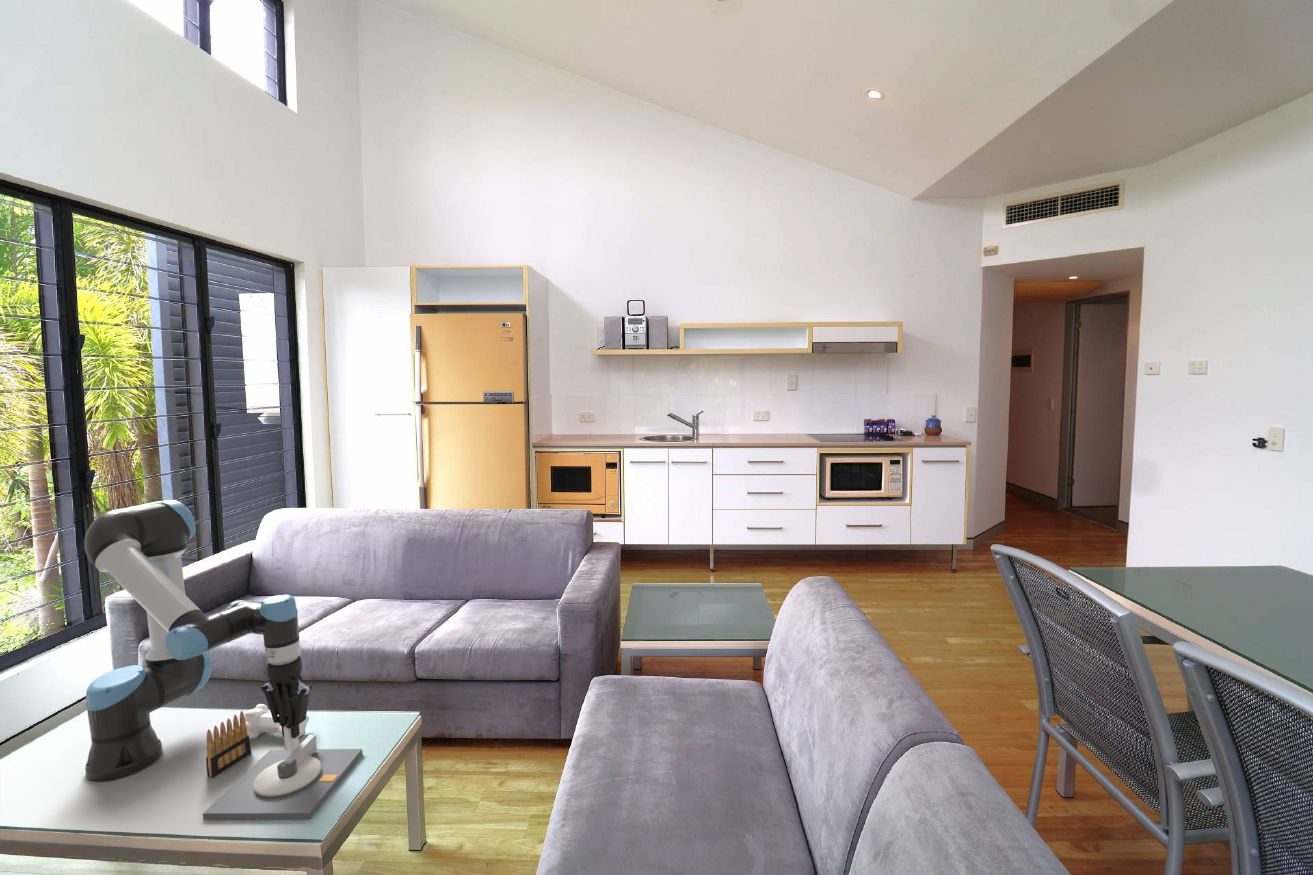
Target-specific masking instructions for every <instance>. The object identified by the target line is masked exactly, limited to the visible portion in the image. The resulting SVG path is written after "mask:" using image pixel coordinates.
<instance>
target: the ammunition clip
mask: <svg viewBox="0 0 1313 875" xmlns="http://www.w3.org/2000/svg"><path fill="white" fill-rule="evenodd" d="M219 728H220V729H219ZM219 728H218V726H217V725H214V727H213V732H211V730H210V729H207V731H206V756H205V763H206V777H207V778H211V779H215V778H216V777H217V776H219V775H220V774H222V773H224V772H225V771H226V770H228V769H230V768H231V767H233V766H235V765H236V764H238V763H239V762H241V761H242V760H244V759H246V758H247V757H249V756H250V755H251V753H252V748H251V747H252V746H251V738H249V735H248V733H247V725H246V722H245V714H244V712H243V711H242V710H241V711H240V713H239V718H238V716H237V714H234V715H233V720H231V718H227V719H226V725H225V723H224V722H223V721H221V723H220V727H219ZM212 734H213V735H212ZM248 755H249V756H248ZM237 762H238V763H237Z"/></svg>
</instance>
